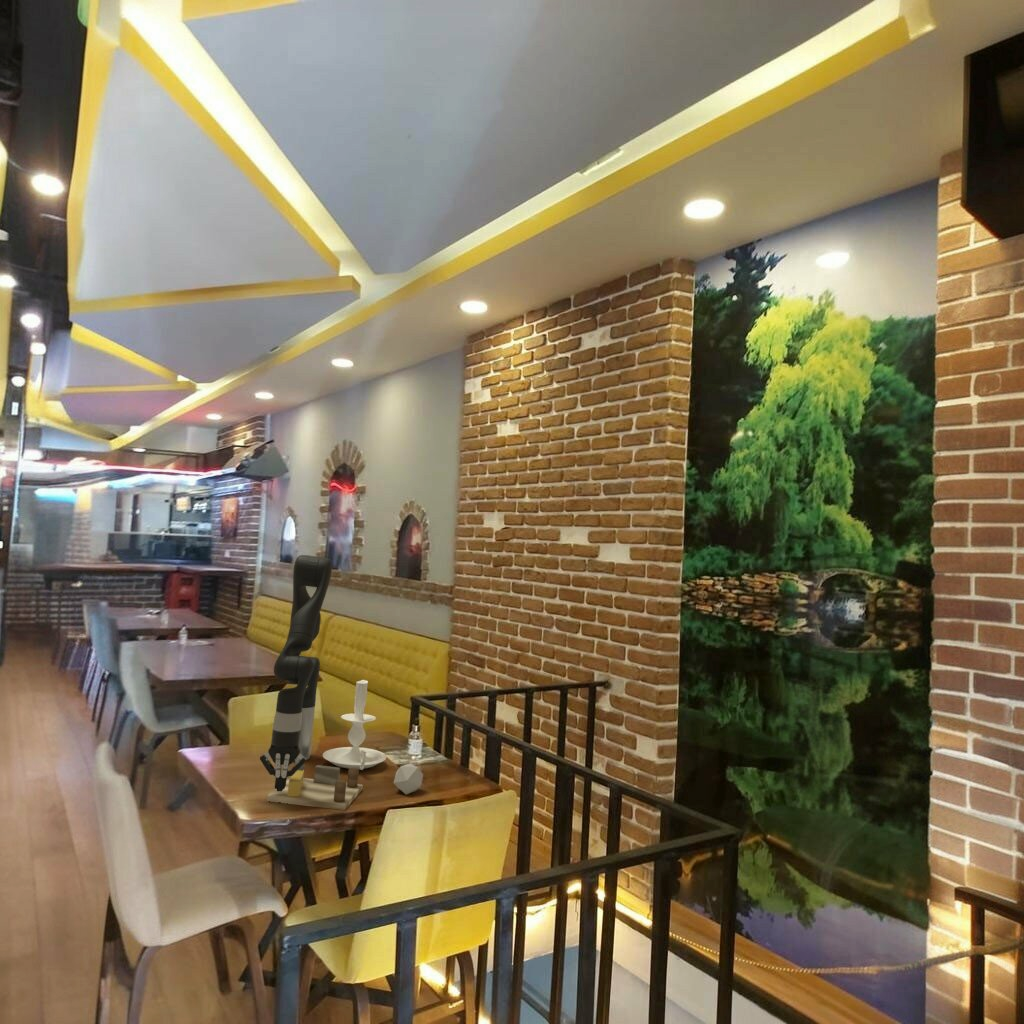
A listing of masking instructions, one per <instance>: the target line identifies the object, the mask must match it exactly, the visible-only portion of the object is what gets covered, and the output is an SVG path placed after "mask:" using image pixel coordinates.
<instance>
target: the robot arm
mask: <svg viewBox="0 0 1024 1024" xmlns="http://www.w3.org/2000/svg"><path fill="white" fill-rule="evenodd" d="M292 571H293V572H292V573H293V574H292V576H293V577H292V581H293V582H292V588H293V589H292V597H293V598H292V606H291V613H290V620H289V622H290V625H289V629H288V634H287V639H286V642H285V644H284V646H283V648H282V650H281V652H280V653H279V654H278V656H277V658H276V661H275V662H274V665H273V674H274V676H275V678H276V679H277V680H279V681H286V683H287V684H290V685H296V686H294V687H289V688H283V689H281V690H279V691H278V694H277V699H276V706H275V707H276V708H275V714H274V717H273V723H272V733H271V742H270V746H269V748H268V750H267V752H265V753H262V754H261V755H260V757H259V761H260V762H261V763H262V765H263V766H264V768H265V769H266V771H267V772H268V774H269V775H270V776H274V777H275V782H274V790H275V789H277V791H282V790H283V789H285V787H286V780H287V779H288V778H289V777H291V776H292V775H293V774H294V773H295V772H296V771H297V770H298V769H299V768H300V767H301V766H302V765H303V764H304V765H305V764H306V762H307V760H309V759H310V758H311V750H312V740H313V732H314V731H313V729H314V719H315V709H316V708H315V707H316V698H317V697H316V696H317V687H318V682H319V675H320V668H321V664H320V662H321V661H320V659H319V657H315V656H305V655H303V656H302V655H301V654H302V653H303V652H307V651H309V650H310V649H311V648H312V645H313V642H314V640H315V639H316V638H317V637H318V636H319V634H320V628H321V619H322V616H321V610H322V607H323V604H324V601H325V599H326V595H327V592H328V588H329V585H330V582H331V577H332V573H333V572H332V571H333V563H332V560H331V559H330V558H326V557H321V556H314V555H306V554H301V555H298V556H297V557H296V559H295V561H294V565H293V570H292ZM307 587H312V588H316V589H315V591H314V593H313V595H312V596H310V594H309V592H308V590H307ZM270 759H271V761H272V762H273V763H274V764H275V767H274V765H273V764H272V762H271V761H270ZM296 760H297V764H296V765H295V764H294V766H293V767H292V768H291V769H290V765H291V764H293V763H294V762H295V761H296Z"/></svg>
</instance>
